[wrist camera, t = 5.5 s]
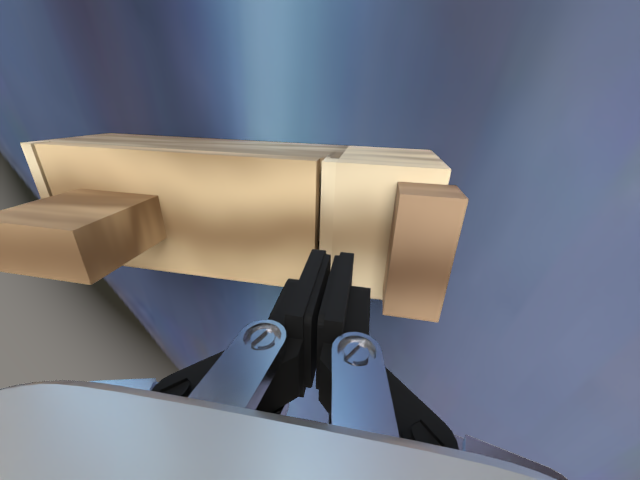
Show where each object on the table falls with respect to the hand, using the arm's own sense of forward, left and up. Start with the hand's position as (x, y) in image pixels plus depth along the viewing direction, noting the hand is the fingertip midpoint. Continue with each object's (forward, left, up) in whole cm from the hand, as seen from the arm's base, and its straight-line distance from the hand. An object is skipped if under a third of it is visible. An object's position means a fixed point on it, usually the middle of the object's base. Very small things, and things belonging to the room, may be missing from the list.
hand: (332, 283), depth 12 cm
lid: (+1, -11, -8) cm, 14 cm away
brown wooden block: (+1, +4, -6) cm, 8 cm away
